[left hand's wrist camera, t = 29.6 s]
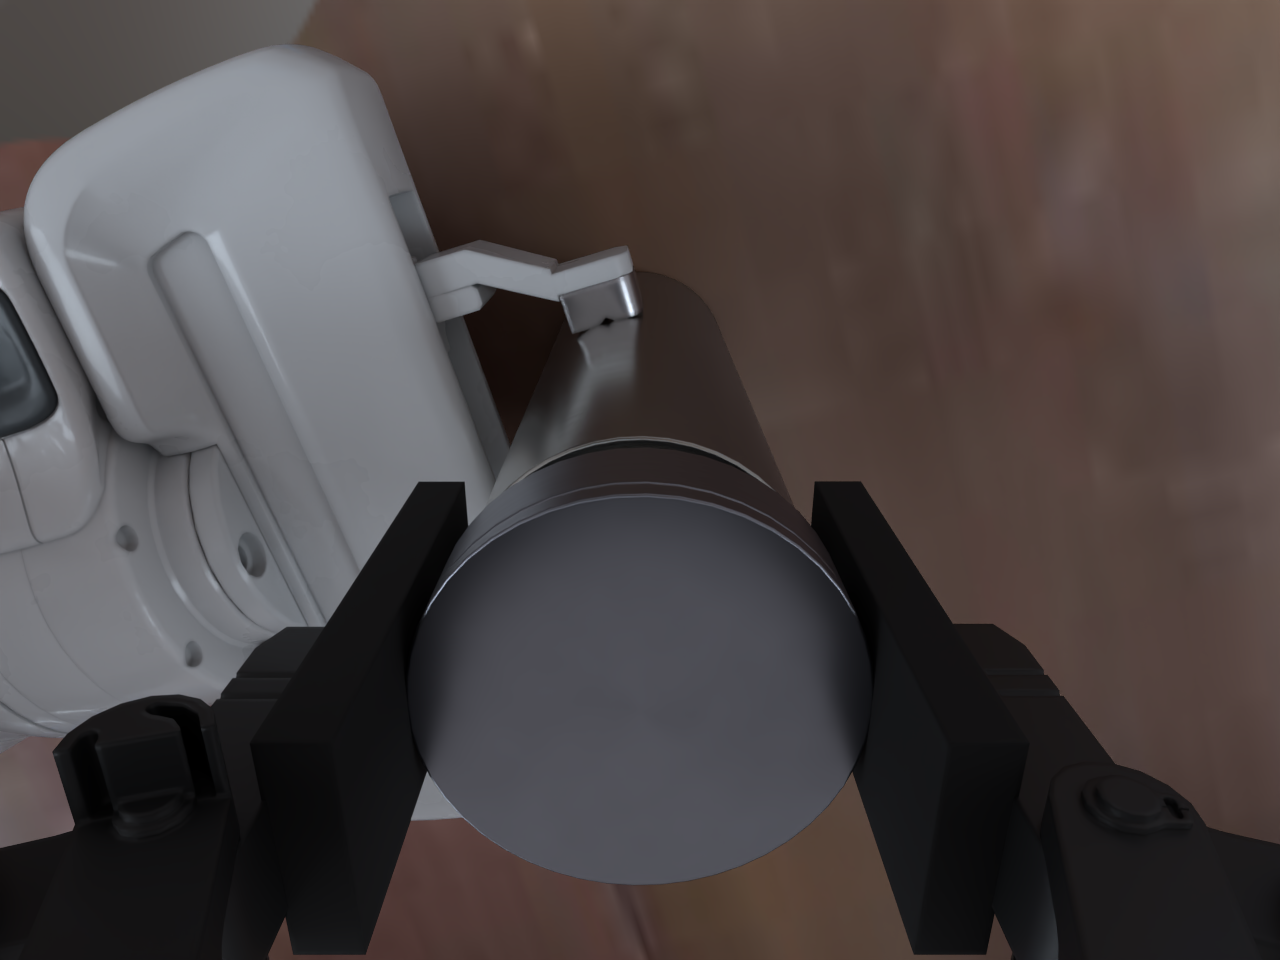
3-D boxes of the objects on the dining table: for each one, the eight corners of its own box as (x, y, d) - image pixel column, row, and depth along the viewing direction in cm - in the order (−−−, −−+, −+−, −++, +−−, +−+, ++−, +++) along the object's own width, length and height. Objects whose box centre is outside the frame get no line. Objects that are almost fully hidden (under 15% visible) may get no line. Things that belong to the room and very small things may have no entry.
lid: (699, 855, 13) (707, 944, 12) (365, 695, 12) (327, 771, 11) (930, 580, 12) (973, 644, 10) (563, 362, 11) (550, 398, 9)
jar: (522, 353, 28) (358, 651, 12) (642, 234, 26) (645, 384, 10) (637, 465, 29) (634, 869, 13) (756, 358, 28) (919, 661, 12)
